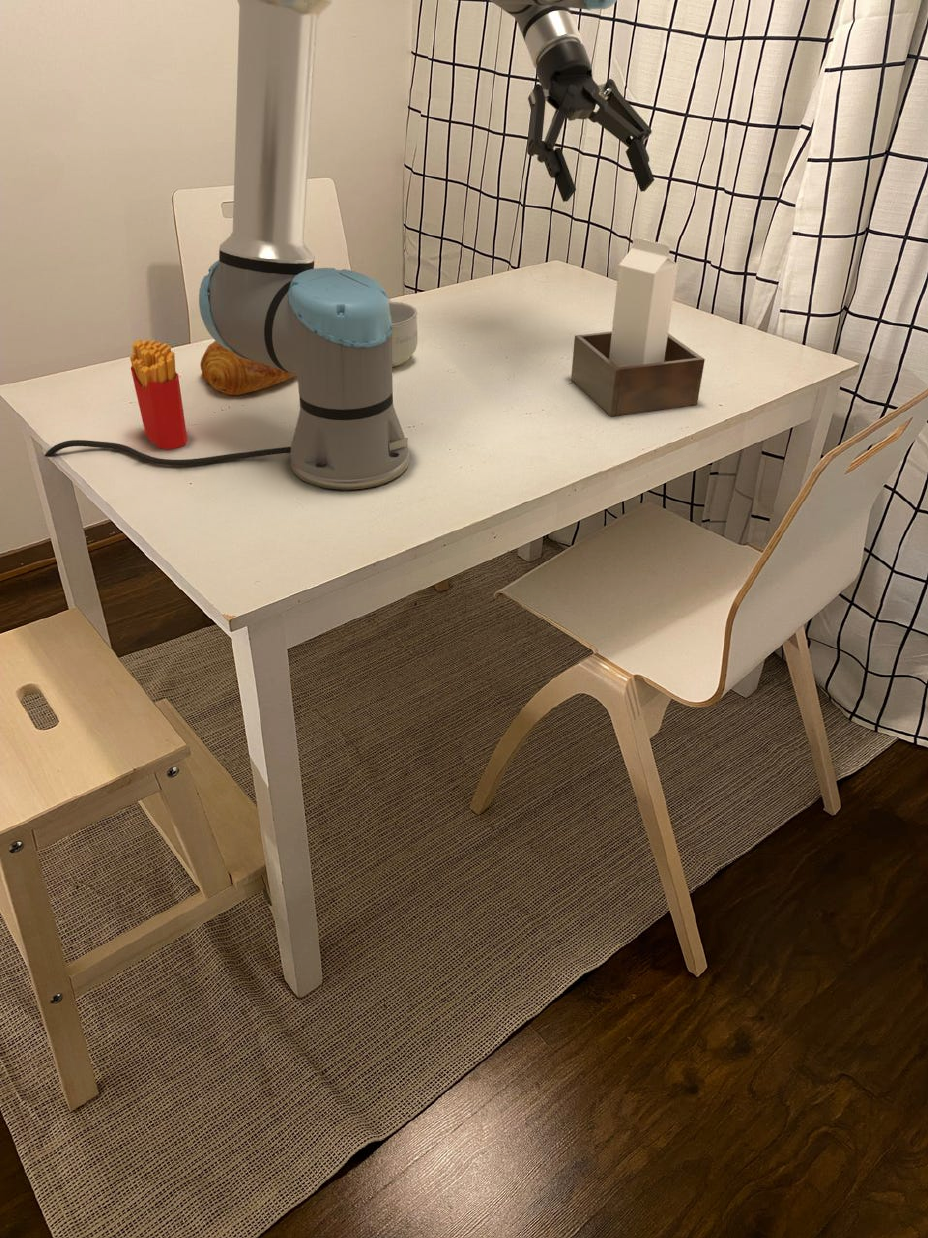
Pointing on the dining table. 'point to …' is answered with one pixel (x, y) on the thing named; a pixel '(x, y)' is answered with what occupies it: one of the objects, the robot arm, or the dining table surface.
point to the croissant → (237, 372)
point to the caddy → (636, 377)
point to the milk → (643, 304)
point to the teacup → (403, 331)
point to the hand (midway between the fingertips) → (609, 190)
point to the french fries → (158, 393)
